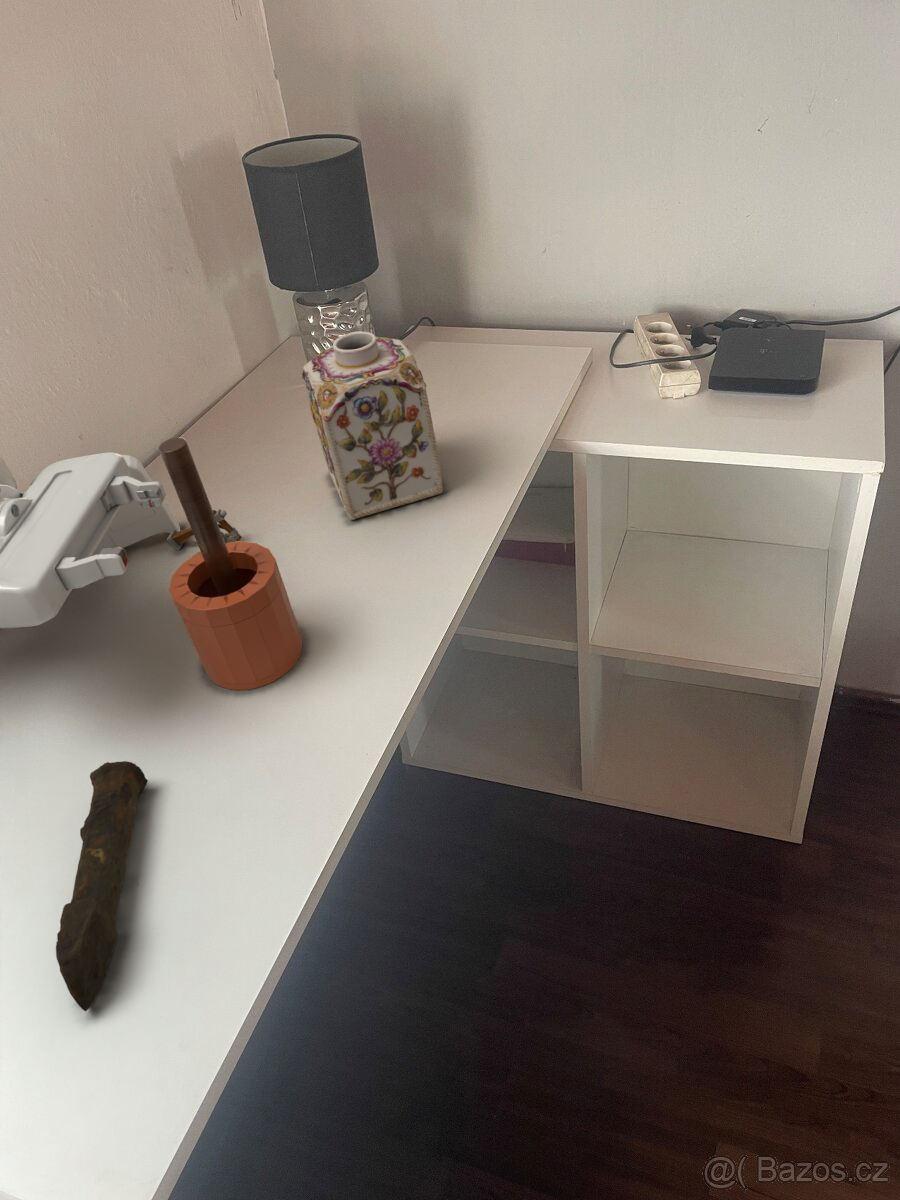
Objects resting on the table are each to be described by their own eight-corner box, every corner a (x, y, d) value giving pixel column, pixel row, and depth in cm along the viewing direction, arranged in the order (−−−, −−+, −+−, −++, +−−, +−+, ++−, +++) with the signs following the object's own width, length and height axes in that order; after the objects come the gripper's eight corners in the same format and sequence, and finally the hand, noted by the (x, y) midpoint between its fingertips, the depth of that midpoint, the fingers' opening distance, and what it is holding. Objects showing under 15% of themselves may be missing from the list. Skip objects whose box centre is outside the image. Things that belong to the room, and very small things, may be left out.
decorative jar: (418, 447, 108) (392, 307, 96) (447, 494, 99) (422, 346, 87) (326, 474, 106) (288, 334, 94) (346, 524, 97) (308, 377, 86)
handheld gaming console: (59, 576, 101) (179, 524, 102) (59, 590, 99) (182, 537, 100) (1, 501, 93) (131, 447, 94) (-1, 515, 91) (133, 459, 92)
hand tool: (105, 792, 72) (82, 757, 69) (152, 784, 72) (131, 749, 69) (49, 1021, 58) (17, 990, 55) (108, 1011, 58) (79, 979, 55)
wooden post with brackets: (244, 541, 96) (217, 511, 93) (192, 566, 99) (165, 537, 97) (249, 531, 97) (223, 501, 95) (198, 556, 100) (171, 528, 98)
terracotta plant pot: (186, 664, 83) (148, 585, 77) (259, 608, 88) (230, 530, 81) (247, 705, 78) (213, 624, 71) (322, 643, 83) (296, 562, 76)
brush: (227, 646, 83) (144, 449, 69) (252, 627, 85) (176, 430, 70) (248, 659, 81) (167, 459, 67) (273, 639, 83) (200, 439, 69)
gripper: (57, 498, 84) (191, 487, 83) (-46, 644, 69) (116, 635, 67) (28, 442, 80) (168, 429, 78) (-89, 584, 65) (82, 572, 63)
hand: (143, 525), depth 73 cm, fingers open, 8 cm apart
